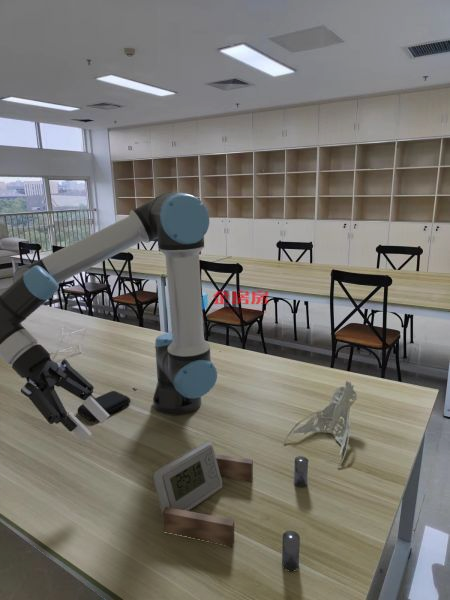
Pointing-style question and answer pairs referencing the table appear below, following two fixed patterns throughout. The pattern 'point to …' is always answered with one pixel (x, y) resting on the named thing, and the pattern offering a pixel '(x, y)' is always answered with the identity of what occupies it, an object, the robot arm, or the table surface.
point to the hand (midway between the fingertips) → (96, 428)
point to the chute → (210, 525)
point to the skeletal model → (332, 417)
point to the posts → (290, 537)
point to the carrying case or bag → (106, 404)
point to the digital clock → (188, 478)
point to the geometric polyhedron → (69, 341)
